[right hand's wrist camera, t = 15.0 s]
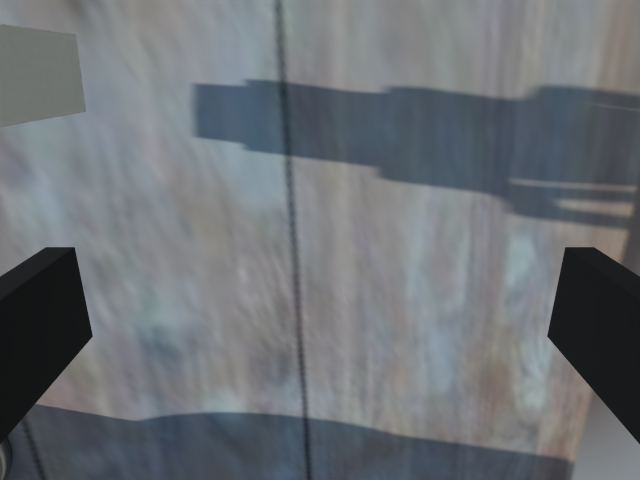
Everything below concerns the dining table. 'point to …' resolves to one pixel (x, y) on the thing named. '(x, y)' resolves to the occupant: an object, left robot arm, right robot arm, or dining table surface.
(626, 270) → the right robot arm
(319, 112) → the dining table surface
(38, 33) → the bar
